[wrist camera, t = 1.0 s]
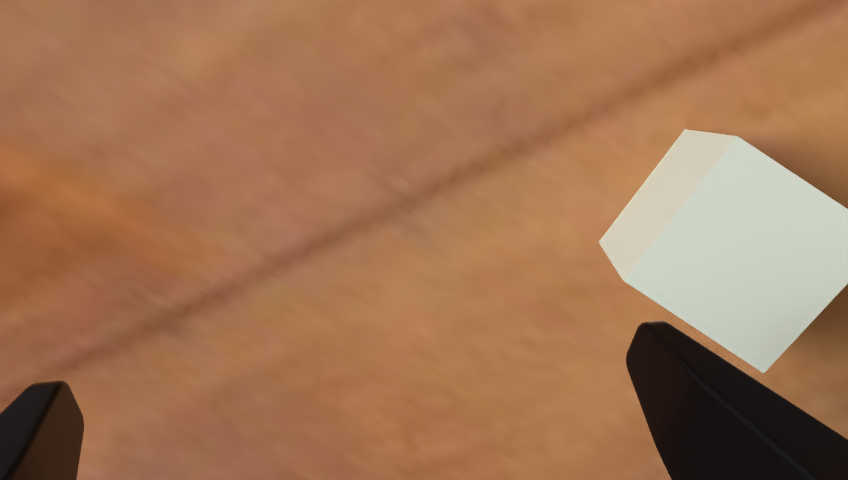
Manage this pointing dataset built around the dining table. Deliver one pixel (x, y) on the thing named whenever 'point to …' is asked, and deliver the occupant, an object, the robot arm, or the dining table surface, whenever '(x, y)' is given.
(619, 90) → the dining table surface
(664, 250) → the sage cube
